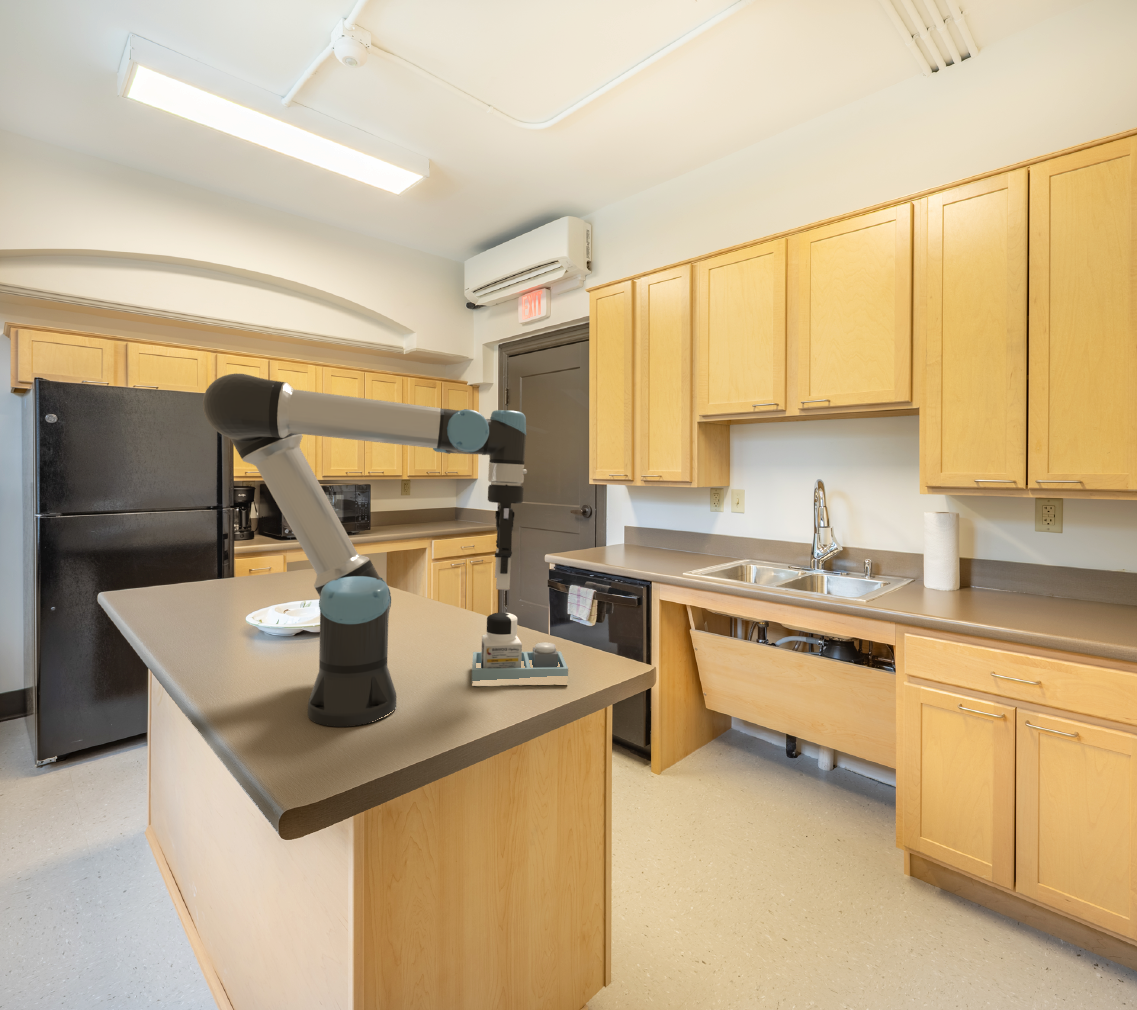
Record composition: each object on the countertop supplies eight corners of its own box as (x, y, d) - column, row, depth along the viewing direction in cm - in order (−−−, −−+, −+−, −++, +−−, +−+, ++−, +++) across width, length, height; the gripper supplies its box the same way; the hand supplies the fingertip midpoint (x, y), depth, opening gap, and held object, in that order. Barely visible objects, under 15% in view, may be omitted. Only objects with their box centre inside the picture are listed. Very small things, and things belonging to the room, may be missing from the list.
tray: (471, 686, 122) (472, 654, 122) (472, 667, 134) (473, 638, 134) (567, 685, 125) (568, 653, 124) (560, 666, 137) (561, 637, 136)
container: (484, 680, 124) (486, 619, 123) (480, 668, 132) (482, 610, 131) (521, 679, 126) (523, 618, 125) (515, 667, 133) (517, 610, 133)
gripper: (528, 486, 115) (523, 595, 116) (520, 484, 140) (516, 573, 141) (488, 484, 114) (484, 594, 115) (487, 482, 139) (484, 573, 140)
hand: (501, 583), depth 128 cm, fingers open, 13 cm apart
